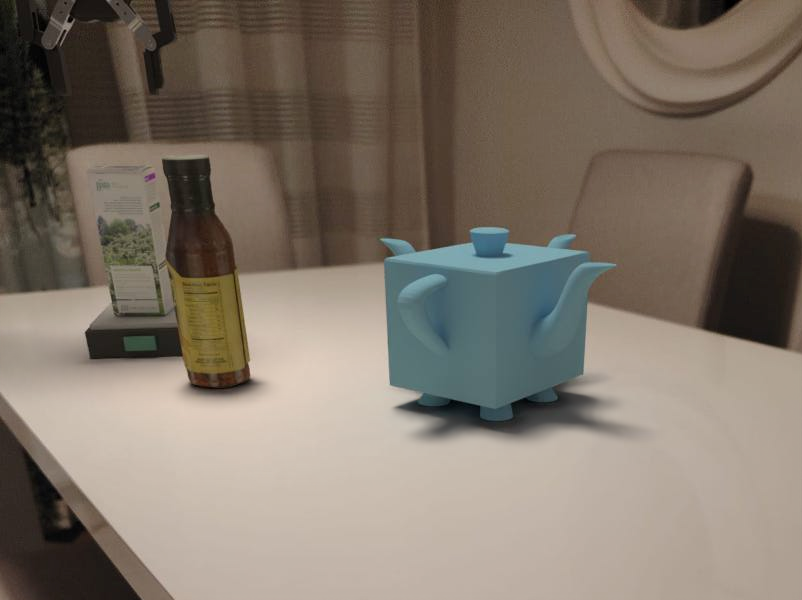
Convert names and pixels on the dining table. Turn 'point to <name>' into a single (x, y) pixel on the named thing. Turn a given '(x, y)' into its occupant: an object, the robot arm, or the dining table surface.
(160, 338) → the scale
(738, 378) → the dining table surface
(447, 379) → the teakettle
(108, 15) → the robot arm
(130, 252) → the syrup box
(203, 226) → the sauce bottle
